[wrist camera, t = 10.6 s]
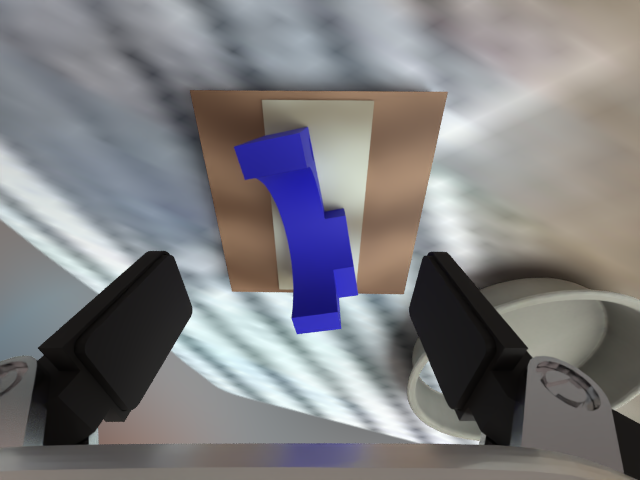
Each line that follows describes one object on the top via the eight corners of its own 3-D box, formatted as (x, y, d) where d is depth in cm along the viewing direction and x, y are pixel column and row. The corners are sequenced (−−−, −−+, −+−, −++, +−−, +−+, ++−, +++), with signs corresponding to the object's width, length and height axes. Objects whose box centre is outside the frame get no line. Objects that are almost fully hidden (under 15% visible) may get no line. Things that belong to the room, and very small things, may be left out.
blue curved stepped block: (353, 272, 21) (364, 325, 16) (303, 279, 21) (296, 334, 16) (330, 121, 15) (334, 125, 10) (264, 135, 16) (233, 146, 11)
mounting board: (204, 92, 17) (188, 89, 15) (434, 94, 16) (449, 91, 15) (238, 278, 24) (231, 292, 22) (397, 280, 24) (404, 295, 22)
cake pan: (446, 243, 22) (473, 271, 18) (679, 282, 24) (751, 316, 20) (373, 394, 34) (379, 432, 30) (534, 414, 35) (561, 452, 31)
